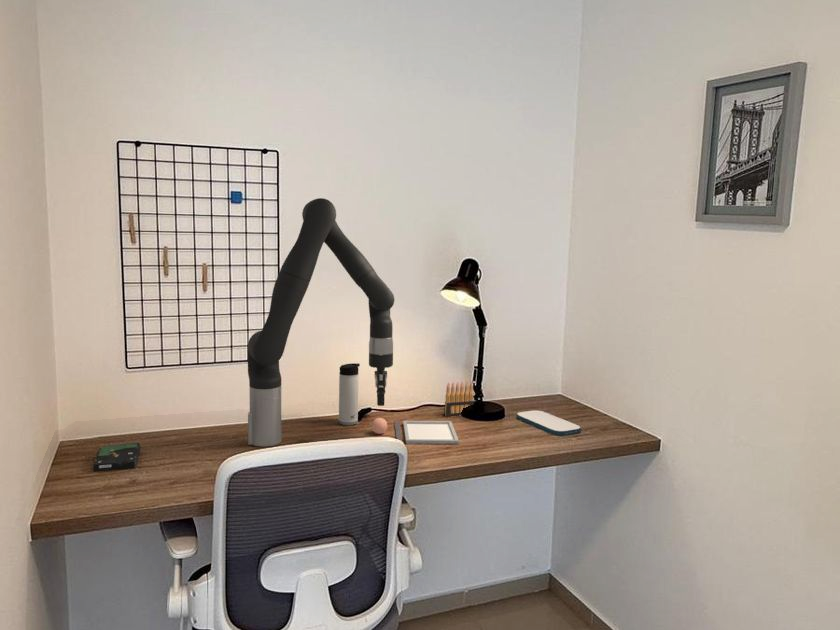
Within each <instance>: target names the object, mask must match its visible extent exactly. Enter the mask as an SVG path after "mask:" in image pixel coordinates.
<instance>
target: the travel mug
mask: <svg viewBox="0 0 840 630" xmlns="http://www.w3.org/2000/svg"><path fill="white" fill-rule="evenodd" d="M360 366H361V364H360V363H355V362H354V363H345V364H341V365H340V367H339V374H338V375H339V379H338V381H339V382H338V424H340V425H341V424H342V425H343V426H355V425H358V422H359V419H358V417H359V414H358V413H359V378H360V377H359V367H360ZM354 424H355V425H354Z"/></svg>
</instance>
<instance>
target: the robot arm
mask: <svg viewBox="0 0 840 630" xmlns="http://www.w3.org/2000/svg"><path fill="white" fill-rule="evenodd" d="M301 213H302V215H301V216H302V220H303V221H302V224H301V228H300V231H299V233H298V236H297V238H296V241H295V243H294V245H293V246H292V248H291V249H290V251H289V252H288V255H287V256H286V258H285V260H284V261H283V263H282V265H281V267H280V269H279V272H278V273H277V274H278V275H277V277H276V279H275V281H274V282H275V283H274V284H273V285H274V286H273V287H272V293H271V299H270V307H269V312H268V315H267V318H266V320H265V323H264V325H263V327H262V329H261V330H258V331H257V332H255V333H253V334H252V335H251V337H250V338H249V340H248V343H247V349H246V351H247V375H248V381H249V384H248V386H249V411H248V413H247V445H248V446H249V445H250V446H255V447H272V446H276V445H279V444H281V442H282V376H281V375H282V374H281V372H280V360H281V358H282V357H283V356H284V355H283V354H284V351H285V348H286V345H287V341H288V337H289V334H290V331H291V327H292V325H293V322H294V319H295V317H296V316H297V314H298V311H299V309H300V306H301V304H302V303H303V299H304V297H305V295H306V293H307V291H308V288H309V285H310V282H311V280H312V277H313V274H314V271H315V268H316V265H317V262H318V258H319V256H320V252H321V249H322V247H323V245H324V244H325V245H326V247H328V249H329V250H330V251H331V252H332V253H333V254H334V256H335V258H336V259H337V260H338V262H339V263H340V264H341V266H342V267H343V269H344V270H345V271H346V273H347V274H348V275H349V277H350V278H351V279H352V280H353V282H354V283H355V285H357V286H358V287H359V288H360V289H361V290H362V291H363V293H364V294H365V296H366V297H367V299H368V311H369V312H368V313H369V319H370V320H369V321H370V323H369V342H368V367H371V368H376V370H374V380H375V385H374V386H375V388H376V405H377V406H378V407H379V406H380V407H383V406H385V394H386V388H387V379H388V371H387V370H386V368H392V367H393V366H394V340H393V320H392V318H391V309H392V308H393V306H394V304H395V296H394V293H393V292H392V291H391V289H390V288H389V287H388V285H387V284H386V283H385V281H383V279H381V278H380V276H379V275H378V274H377V272H376V270H375V269H374V268H373V266H372V265H371V263H370V262H369V261H368V259H367V258H366V257H365V255H364V254H363V253H362V252H361V251H360V250H359V248H358V247H356V246H355V245H354V243H353V242H351V240H350V239H349V238H348V237H347V236H346V235H345V233H344V232H343V230H342V229H341V228H340V226H339V224H338V223H337V221H336V219H337V211H336V207H335V205H334V203H332V201H330V200H329V199H327V198H325V197H323V198H314V199H312V200H310V201H309V202H307V203H306V204H305V206H304V207H303V209H302V212H301Z"/></svg>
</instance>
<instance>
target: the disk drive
mask: <svg viewBox="0 0 840 630" xmlns="http://www.w3.org/2000/svg"><path fill="white" fill-rule="evenodd" d="M140 446H141V445H140V442H135V443H133V442H132V443H121V444H120V443H119V444H115V445H101V446H100V448H99V449H98V452H97V454H96V457H95V458H94V461H93V463H92V464H93V465H92V466H93V467H92V468H93V472H94V473H97V472H108V471H109V472H110V471H120V470H121V471H123V470H130V469H131V470H132V469H135V470H136V468H137V467H138V466H137V465H138V460H139V456H140V451H141V447H140Z"/></svg>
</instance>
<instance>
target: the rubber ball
mask: <svg viewBox="0 0 840 630" xmlns="http://www.w3.org/2000/svg"><path fill="white" fill-rule="evenodd" d="M371 430H372V431H373V432H374V433H375V434H378V435H380V434H381V435H382V434H384V433H385V432H386V431H387V430H388V423H387V421H386V420H385V418H383V417H377V418H375V419H373V421H372V422H371Z"/></svg>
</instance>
